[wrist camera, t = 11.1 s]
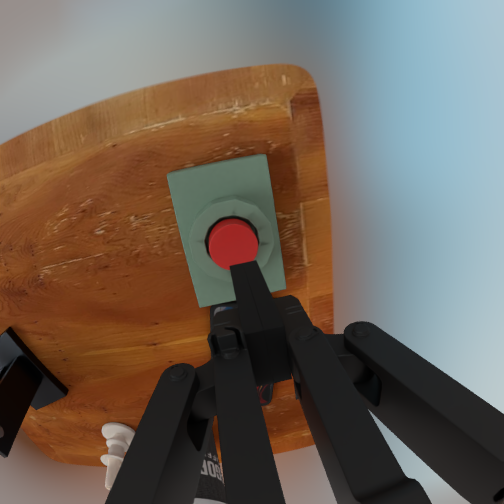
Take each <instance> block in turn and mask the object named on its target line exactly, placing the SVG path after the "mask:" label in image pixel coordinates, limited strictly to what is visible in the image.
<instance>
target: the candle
mask: <svg viewBox="0 0 504 504" xmlns="http://www.w3.org/2000/svg"><path fill="white" fill-rule="evenodd" d="M102 434H103V435H104V437H105V438H106V439H107V442H106V444H107V446H108V447H109V450H108V453H109V454H107V455H103V456H101V461H102V462H103V463H104V464H105V465H106V466H108V467H107V473H106V483H105V487H106V489H108V490H111V488H112V485H113V483H114V481H115V478H116V476H117V474H118V471H119V469H120V467H121V464H122V462H123V460H124V459H123V457H124V452H126V451H127V450H128V448H129V446H130V444H131V441H132V439H133V437H134V434H135V431H134V430H133V429H132V428H130V427H129V426H126V425H124V424H121V423H115V422H111V423H107V424H105V425H104V426H103V427H102Z"/></svg>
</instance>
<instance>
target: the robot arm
mask: <svg viewBox="0 0 504 504" xmlns="http://www.w3.org/2000/svg"><path fill="white" fill-rule="evenodd" d="M229 267H230V272H231V277H232V282H233V287H234V292H235V297H236V302H237V307H238V308H233V309H228V310H223V311H218V312H216V314H215V316H214V317H213V329H214V330H212V331H211V332H210V333H209V335H208V338H207V340H208V343H209V346H210V349H211V353H212V356H213V358H212V359H211V360H210V361H209V362H207V363H206V364H204V365H202V366H200V367H197V368H195V369H194V367H193V366H192V365H190V364H185V363H180V364H175V365H172V366H170V367H169V368H167V369H166V370H165V371H164V372H163V373H162V375H161V377H160V379H159V381H158V383H157V386H156V388H155V390H154V392H153V394H152V397H151V399H150V401H149V403H148V405H147V408H146V410H145V412H144V414H143V416H142V419H141V421H140V423H139V425H138V428H137V430H136V432H135V434H134V437H133V439H132V441H131V444H130V446H129V448H128V450H127V453H126V455H125V457H124V460H123V462H122V464H121V467H120V469H119V471H118V474H117V476H116V478H115V481H114V483H113V485H112V488H111V490H110V493H109V495H108V497H107V500H106V502H105V504H193V503H194V499H195V495H196V491H197V487H198V483H199V479H200V474H201V470H202V466H203V462H204V458H205V454H206V450H207V445H208V441H209V437H210V433H211V429H212V425H213V421H214V416H216V415H217V419H218V430H219V440H220V450H221V459H222V469H223V477H224V486H225V494H226V502H227V504H286V503H285V499H284V495H283V491H282V488H281V484H280V480H279V476H278V472H277V468H276V465H275V461H274V456H273V452H272V448H271V444H270V440H269V436H268V432H267V428H266V424H265V420H264V416H263V411H262V407H261V403H260V399H259V395H258V391H257V387H259V386H263V385H268V384H272V383H276V382H280V381H284V380H288V379H292V376H293V379H294V387H295V395H296V400H297V399H299V401H300V404H301V406H302V409H303V412H304V415H305V417H306V420H307V423H308V425H309V428H310V431H311V434H312V436H313V439H314V442H315V444H316V447H317V450H318V452H319V455H320V458H321V460H322V463H323V466H324V468H325V471H326V474H327V477H328V479H329V482H330V485H331V487H332V490H333V493H334V496H335V498H336V501H337V504H432V503H431V501H430V499H429V498H428V496H427V494H426V492H425V491H424V489H423V487H422V486H421V485H420V483H419V482H418V481H416V480H415V479H411V478H408V477H407V476H406V475H405V474H404V472H403V471H402V469H401V467H400V465H399V463H398V462H397V460H396V458H395V456H394V455H393V453H392V451H391V449H390V447H389V446H388V444H387V442H386V440H385V439H384V437H383V435H382V433H381V432H380V430H379V428H378V426H377V424H376V423H375V421H374V419H373V417H372V416H371V414H370V412H369V411H368V409H369V410H370V411H371V412H372V413H373V414H374V415H375V416H376V417H377V418H378V419H379V420H380V421H381V422H382V423H383V424H384V425H385V426H386V427H387V428H389V430H391V432H393V433H394V434H395V435H396V436H397V437H398V438H399V439H400V440H401V441H402V442H403V443H404V444H405V445H406V446H407V447H409V449H411V450H412V451H413V452H414V453H415V454H416V455H417V456H418V457H419V458H420V459H421V460H422V461H423V462H425V463H426V464H427V465H428V466H429V467H430V468H431V469H432V470H433V471H434V472H435V473H437V474H438V475H439V476H440V477H441V478H442V479H443V480H444V481H445V482H446V483H448V484H449V485H450V486H451V487H452V488H453V489H454V490H456V492H458V493H459V494H460V495H461V496H462V497H463V498H465V499H466V500H467V501H469V502H470V503H471V504H504V414H503V413H501V412H500V411H498V410H497V409H496V408H494V407H493V406H492V405H490V404H489V403H487V402H486V401H484V400H483V399H482V398H480V397H479V396H477V395H476V394H474V393H473V392H471V391H470V390H469V389H467V388H466V387H464V386H463V385H461V384H460V383H459V382H457V381H456V380H454V379H453V378H451V377H450V376H448V375H447V374H446V373H444V372H443V371H441V370H440V369H438V368H437V367H435V366H434V365H432V364H431V363H430V362H428V361H427V360H425V359H424V358H422V357H421V356H419V355H418V354H417V353H415V352H414V351H412V350H411V349H409V348H408V347H406V346H405V345H403V344H402V343H400V342H399V341H398V340H396V339H395V338H393V337H392V336H390V335H389V334H387V333H386V332H384V331H383V330H381V329H380V328H379V327H377V326H376V325H374V324H372V323H369V322H363V321H361V322H354V323H351V324H349V325H348V326H347V327H346V328H345V330H344V334H324V333H323V332H322V330H320V329H319V328H318V327H315V326H313V324H312V322H311V321H310V319H309V317H308V315H307V314H306V312H305V311H304V309H303V307H302V306H301V303H300V302H299V300H298V299H297V298H295V297H294V296H292V295H288V296H284V297H279V298H275V299H273V298H272V295H271V293H270V291H269V288H268V286H267V284H266V281H265V279H264V277H263V274H262V272H261V270H260V267H259V265H258V263H257V260H254V261H250V262H245V263H240V264H235V265H231V266H229ZM291 373H292V376H291ZM367 408H368V409H367Z"/></svg>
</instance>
